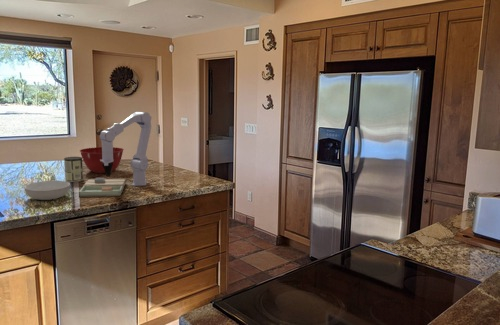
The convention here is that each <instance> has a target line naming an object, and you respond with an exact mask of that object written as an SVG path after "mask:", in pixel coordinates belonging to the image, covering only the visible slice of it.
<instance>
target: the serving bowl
mask: <svg viewBox="0 0 500 325" xmlns="http://www.w3.org/2000/svg"><path fill="white" fill-rule="evenodd" d="M70 188H71V182H67V181H65V180H42V181H36V182H32V183H29V184H26V185H25V186H24V188H23V189H24V191H25V193H26V195H27V196H28V197H29V198H31V199H33V200H38V201H39V200H41V201H53V200H56V199H58V198H62V197H64V196H65V195H67V194H68V192H69V190H70ZM52 199H53V200H52Z"/></svg>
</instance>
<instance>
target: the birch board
mask: <svg viewBox="0 0 500 325" xmlns="http://www.w3.org/2000/svg"><path fill="white" fill-rule="evenodd" d="M125 185H126V178H105V182H104V183H95V178H88V179H87V181H86V182H85V183H84V184H83V186H123V189H124V188H125ZM83 186H82V187H83Z"/></svg>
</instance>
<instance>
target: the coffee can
mask: <svg viewBox="0 0 500 325" xmlns="http://www.w3.org/2000/svg"><path fill="white" fill-rule="evenodd" d="M63 160H64V162H63V163H64V178H65V180H64V181H65V182H68V183H77V182H81V181H84V171H83V158H82V156H68V157H67V156H66V157H64V158H63Z"/></svg>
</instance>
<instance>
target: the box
mask: <svg viewBox="0 0 500 325" xmlns="http://www.w3.org/2000/svg"><path fill="white" fill-rule="evenodd" d="M103 187H112V188H113V190H112V191H102V188H103ZM123 191H124V188H123V186H82V187H81V188H80V190H79V191H78V197H79V198H80V197H81V198H82V197H86V198H87V197H119V196H120V197H121V196H122V193H123Z"/></svg>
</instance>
